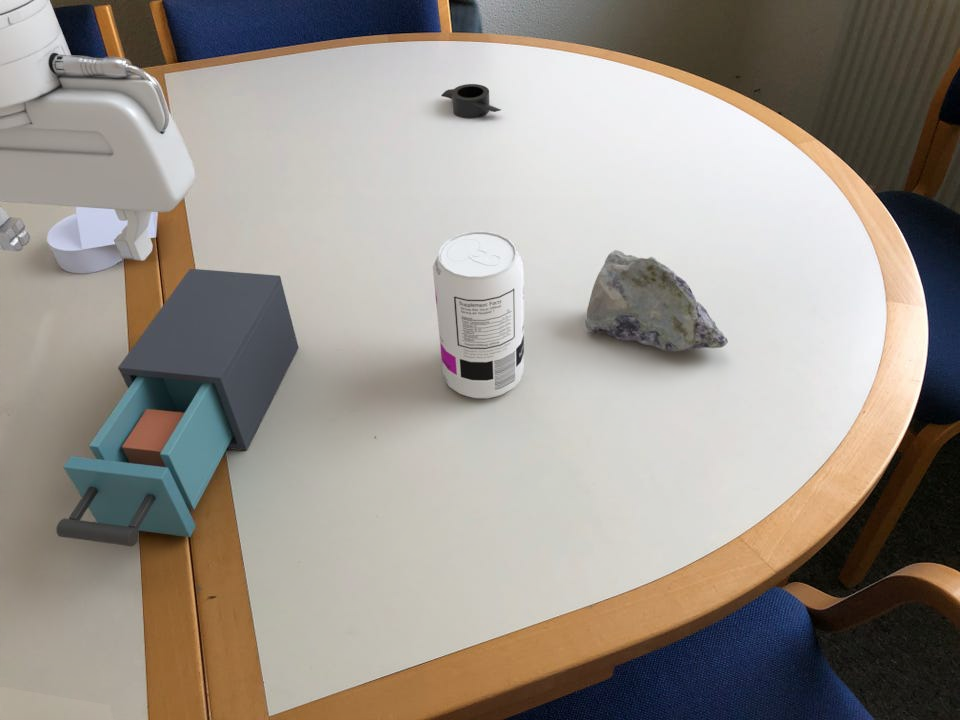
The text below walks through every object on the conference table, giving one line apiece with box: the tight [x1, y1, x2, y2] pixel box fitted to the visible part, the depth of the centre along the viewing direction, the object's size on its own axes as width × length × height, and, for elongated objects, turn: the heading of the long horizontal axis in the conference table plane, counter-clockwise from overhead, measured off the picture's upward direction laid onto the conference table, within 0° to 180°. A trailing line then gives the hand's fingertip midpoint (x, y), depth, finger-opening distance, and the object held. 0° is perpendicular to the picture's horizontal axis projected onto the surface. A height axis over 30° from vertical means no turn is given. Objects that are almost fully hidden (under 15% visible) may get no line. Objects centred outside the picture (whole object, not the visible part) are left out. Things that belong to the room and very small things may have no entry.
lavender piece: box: [46, 207, 159, 274], centre depth 97 cm, size 9×7×13 cm
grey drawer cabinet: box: [117, 268, 299, 451], centre depth 77 cm, size 15×10×10 cm, turn 170°
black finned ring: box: [440, 83, 502, 119], centre depth 124 cm, size 8×10×3 cm
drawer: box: [56, 376, 234, 547], centre depth 68 cm, size 18×8×8 cm, turn 170°
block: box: [122, 409, 184, 467], centre depth 69 cm, size 4×4×4 cm
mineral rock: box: [585, 249, 729, 352], centre depth 80 cm, size 13×11×10 cm
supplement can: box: [432, 230, 525, 400], centre depth 76 cm, size 8×8×15 cm
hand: (76, 250), depth 55 cm, fingers open, 8 cm apart
